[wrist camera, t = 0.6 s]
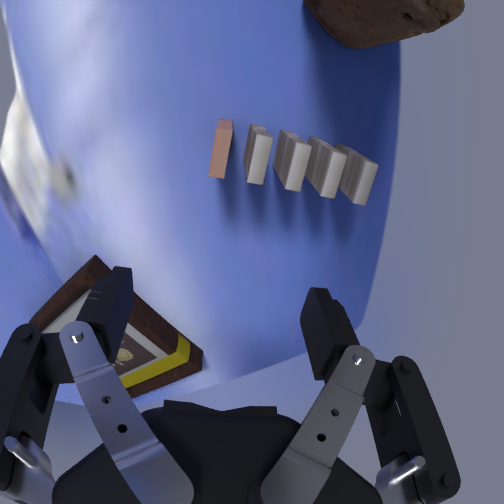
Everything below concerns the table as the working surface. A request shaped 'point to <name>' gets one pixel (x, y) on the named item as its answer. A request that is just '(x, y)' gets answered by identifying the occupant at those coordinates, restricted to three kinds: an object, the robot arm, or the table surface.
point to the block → (382, 19)
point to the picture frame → (127, 335)
